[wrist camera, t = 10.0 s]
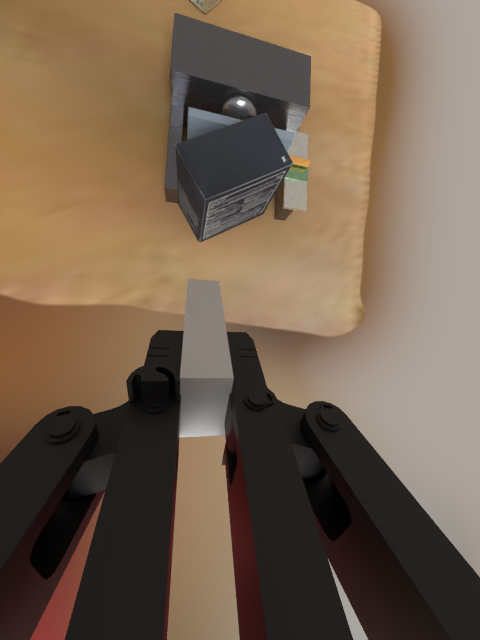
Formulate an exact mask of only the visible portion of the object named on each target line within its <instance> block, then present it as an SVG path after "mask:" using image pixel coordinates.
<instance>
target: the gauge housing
mask: <svg viewBox="0 0 480 640" xmlns="http://www.w3.org/2000/svg"><path fill="white" fill-rule="evenodd" d="M310 75H311V56H308V55H305V54H302V53H299V52H296V51H293V50H289V49H286V48H283V47H280V46H277V45H274V44H271V43H268V42H264V41H261V40H258V39H255V38H252V37H249V36H246V35H243V34H239V33H236V32H233V31H230V30H227V29H224V28H221V27H218V26H215V25H211V24H208V23H205V22H202V21H199V20H196V19H193V18H190V17H186V16H183V15H180V14H177V13H175V15H174V27H173V40H172V52H171V64H170V81H171V115H170V127H169V140H168V152H167V165H166V177H165V196H166V201H168V202H174V203H178V189H177V188H178V187H177V165H176V148H175V145H176V144H177V143H180V142H183V128H184V126H185V127H188V110H189V107H191V108H195V109H199V110H203V111H207V112H211V113H215V114H219V115H223V116H228V117H232V118H236V119H240V120H246V119H249V118H252V117H255V116H258V115H260V114H263V113H266V114H267V116H268V118H269V119H270V121H271V123H272V125H273V127H274V128H276V129H281V130H285V131H289V132H293V133H294V141H293V143H292V144H291V146H290V148H289V150H288V151H287V152H288V154H289V155H290V156H294V157H299V158H303V159H308V134H305V133H301V132H297V130H298V128H299V126H300V125H301V123H302V121H303V119H304V117H305V116H306V114H307V112H308V110H309V108H310ZM307 182H308V167H304V166H299V165H295V164H292V166H291V167H290V169H289V171H288V173H287V174H286V176H285V178H284V179H283V181H282V183H281V184H280V186H279V188H278V189H277V191H276V195H275V219H278V220H285V219H286V218H287V217H288V216H289V215H290V213H291V212H292V211H293V210H296V211H301V212H306V207H307Z"/></svg>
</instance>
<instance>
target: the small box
mask: <svg viewBox="0 0 480 640" xmlns="http://www.w3.org/2000/svg"><path fill="white" fill-rule="evenodd" d="M175 148H176V165H177V187H178V188H177V189H178V204H179V206H180V208H181V210H182V212H183V214H184V216H185V217H186V219H187V221H188V223H189V225H190V227H191V228H192V230H193V232H194V234H195V236H196V238H197V240H198V241H199V242H202V241H204V240H206V239H209V238H211V237H213V236H215V235H218V234H220V233H223V232H224V231H227V230H229V229H231V228H233V227H235V226H238V225H240V224H242V223H244V222H247V221H249V220H251V219H253V218H255V217H257V216H260V215H262V214H264V212H265V210H266V208H267V206H268V204H269V202H270V201H271V199H272V197H273V196H274V194H275V192H276V191H277V189H278V188H279V186H280V184H281V183H282V181H283V179H284V178H285V176H286V174H287V173H288V171H289V169H290V167H291V166H292V164H293V161H292V160H291V158H290V156H289V154H288V152H287V151H286V149H285V147H284V145H283V143H282V141H281V140H280V138H279V136H278V134H277V132H276V130H275V128H274V127H273V125H272V123H271V121H270V119H269V118H268V116H267V114H266V113H263V114H260V115H258V116H255V117H252V118H249V119H246V120H243V121H240V122H238V123H235V124H232V125H229V126H226V127H223V128H220V129H218V130H215V131H212V132H209V133H206V134H203V135H200V136H197V137H194V138H192V139H189V140H186V141H183V142H180V143H177V144H176V145H175Z"/></svg>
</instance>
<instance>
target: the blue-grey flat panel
mask: <svg viewBox="0 0 480 640" xmlns="http://www.w3.org/2000/svg"><path fill="white" fill-rule="evenodd" d="M240 121H243V120H240V119H236V118H232V117H228V116H223V115H219V114H215V113H211V112H207V111H203V110H199V109H195V108H191V107H189V110H188V134H187V140H189V139H192V138H194V137H197V136H200V135H203V134H206V133H209V132H212V131H215V130H218V129H220V128H223V127H226V126H229V125H232V124H235V123H238V122H240ZM275 130H276V132H277V134H278V136H279V138H280V140H281V141H282V143H283V145H284V147H285V149H286V151H288V150H289V148H290V146H291V144H292V143H293V141H294V133H293V132H289V131H285V130H281V129H276V128H275ZM289 156H290V155H289ZM290 158H291V160H292V161H293V164H295V165H299V166H304V167H308V166H309V165H310V160H308V159H303V158H299V157H294V156H290Z"/></svg>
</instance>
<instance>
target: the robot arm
mask: <svg viewBox="0 0 480 640" xmlns="http://www.w3.org/2000/svg"><path fill="white" fill-rule="evenodd" d="M126 382H127V390H128V397H129V401H128V402H126V403H124V404H123V405H121V406H119V407H116V408H113V409H111V410H107V411H104V412H100V413H96V414H93V413H92V412H91V411H90V410H89V409H86V408H83V407H81V406H69V407H65V408H62V409H58V410H56V411H54V412H52V413H50V414H48V415H46V416H45V417H44V418H43V419H42V420H40V421H39V422H38V423H37V424H36V425H35V426H34V427H33V428H32V429H31V430H30V431H29V432H28V434H27V435H26V436H25V437H24V438H23V439H22V440H21V441H20V442H19V444H18V445H17V446H16V447H15V448H14V449H13V450H12V451H11V453H10V454H9V455H8V456H7V457H6V458H5V459H4V460H3V461H2V463H1V464H0V640H30V639H31V637H32V635H33V633H34V631H35V629H36V627H37V625H38V623H39V621H40V619H41V617H42V615H43V613H44V611H45V609H46V607H47V605H48V603H49V601H50V599H51V597H52V595H53V593H54V591H55V589H56V587H57V585H58V583H59V581H60V579H61V577H62V575H63V573H64V571H65V569H66V567H67V565H68V563H69V561H70V559H71V557H72V555H73V553H74V551H75V549H76V547H77V545H78V543H79V541H80V539H81V538H82V536H83V533H84V532H85V530H86V528H87V525H88V524H89V522H90V520H91V518H92V516H93V514H94V512H95V510H96V508H97V506H98V504H99V502H100V500H101V498H102V496H103V494H104V492H105V494H104V498H103V502H102V505H101V509H100V512H99V516H98V520H97V524H96V527H95V531H94V535H93V538H92V542H91V546H90V549H89V553H88V556H87V560H86V564H85V568H84V571H83V575H82V579H81V582H80V586H79V590H78V593H77V597H76V601H75V605H74V608H73V612H72V615H71V619H70V623H69V626H68V630H67V634H66V637H65V640H167V629H168V613H169V597H170V581H171V566H172V549H173V533H174V517H175V502H176V487H177V471H178V455H179V437H196V436H222V435H224V430H225V435H226V444H225V449H224V454H223V461H222V465H225V466H226V478H227V490H228V502H229V514H230V526H231V538H232V551H233V562H234V575H235V586H236V598H237V611H238V622H239V635H240V640H353V638H352V635H351V631H350V628H349V625H348V622H347V619H346V616H345V612H344V610H343V606H342V603H341V600H340V597H339V593H338V590H337V587H336V584H335V581H334V577H333V575H332V571H331V568H330V565H329V562H328V559H329V561H330V563H331V565H332V567H333V569H334V571H335V573H336V575H337V577H338V579H339V581H340V583H341V585H342V587H343V589H344V591H345V593H346V595H347V597H348V599H349V601H350V603H351V605H352V607H353V609H354V611H355V613H356V615H357V617H358V620H359V622H360V623H361V625H362V627H363V630H364V632H365V633H366V636H367V638H368V640H480V577H479V576H478V575H477V574H476V572H475V571H474V570H473V569H472V568H471V566H470V565H469V564H468V563H467V561H466V560H465V559H464V558H463V556H462V555H461V554H460V553H459V552H458V551H457V549H456V548H455V547H454V546H453V544H452V543H451V542H450V541H449V539H448V538H447V537H446V536H445V535H444V533H443V532H442V531H441V530H440V529H439V527H438V526H437V525H436V524H435V522H434V521H433V520H432V519H431V518H430V516H429V515H428V514H427V513H426V511H425V510H424V509H423V508H422V507H421V505H420V504H419V503H418V502H417V501H416V499H415V498H414V497H413V496H412V494H411V493H410V492H409V491H408V490H407V488H406V487H405V486H404V485H403V483H402V482H401V481H400V480H399V479H398V477H397V476H396V475H395V474H394V472H393V471H392V470H391V469H390V468H389V466H388V465H387V464H386V463H385V461H384V460H383V459H382V458H381V457H380V455H379V454H378V453H377V452H376V451H375V449H374V448H373V447H372V446H371V444H370V443H369V442H368V441H367V440H366V438H365V437H364V436H363V435H362V434H361V433H360V431H359V430H358V429H357V427H356V426H355V425H354V424H353V423H352V421H351V420H350V419H349V418H348V416H347V415H346V414H345V413H344V412H343V411H342V410H341V409H339V408H338V407H336V406H335V405H333V404H331V403H327V402H324V401H317V402H313V403H311V404H309V405H308V407H307V409H302V408H299V407H295V406H291V405H288V404H285V403H283V402H281V401H279V400H278V399H277V398H276V396H275V395H274V393H273V392H271V391H270V390H269V389H268V388H267V386H266V383H265V379H264V375H263V372H262V369H261V365H260V362H259V359H258V355H257V351H256V348H255V345H254V341H253V339H252V338H251V337H250V336H249V335H248V334H247V333H245V332H244V333H243V332H227V331H226V325H225V319H224V312H223V306H222V299H221V293H220V286H219V281H209V280H195V279H188V286H187V298H186V310H185V322H184V331H169V330H158V331H157V332H156V333H155V335H153V336H152V338H151V340H150V344H149V349H148V352H147V357H146V360H145V364H144V366H142V367H140V368H138V369H136V370H135V371H134V372H132V373H131V374H130V376H129V378H128V379H127V381H126ZM327 557H328V558H327Z"/></svg>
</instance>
